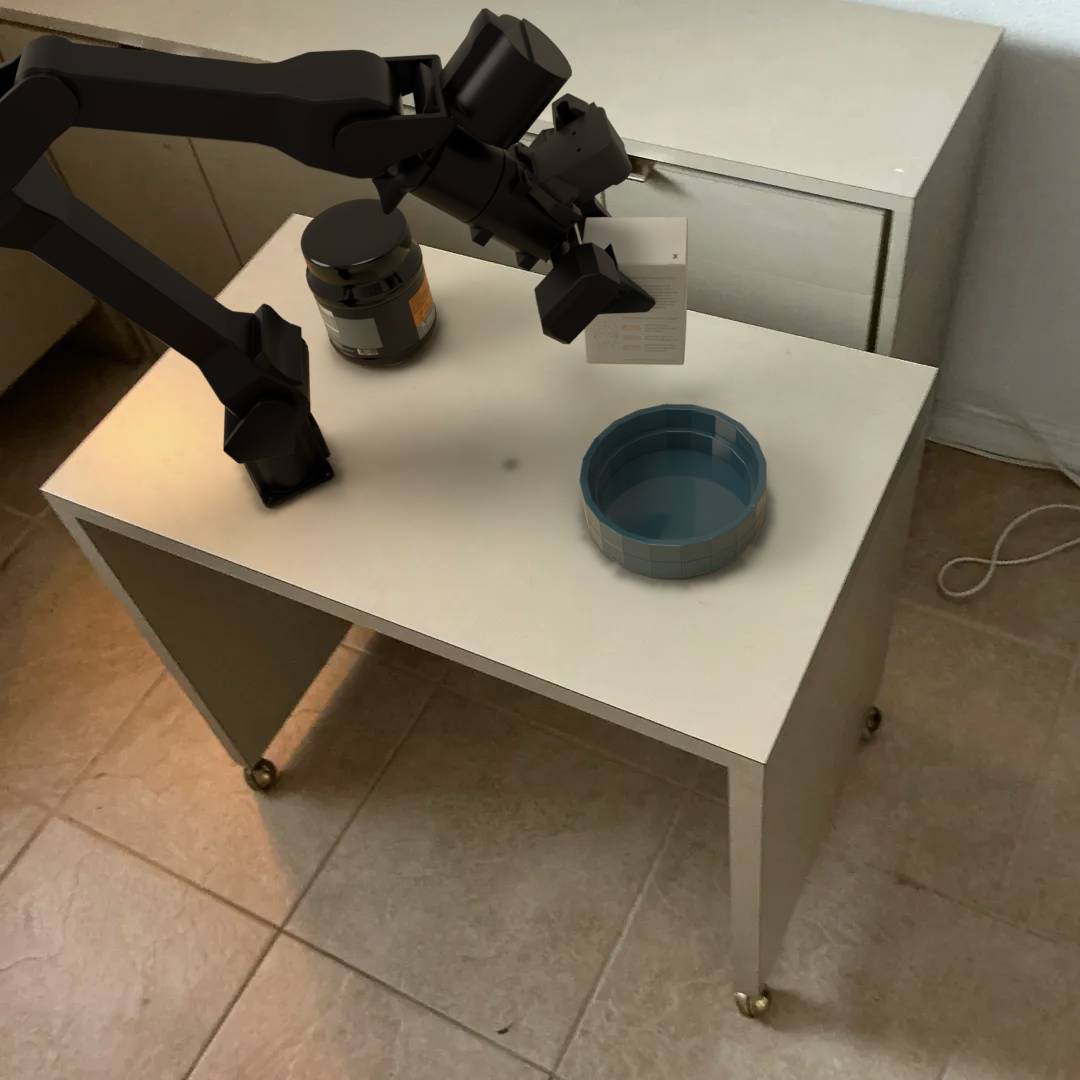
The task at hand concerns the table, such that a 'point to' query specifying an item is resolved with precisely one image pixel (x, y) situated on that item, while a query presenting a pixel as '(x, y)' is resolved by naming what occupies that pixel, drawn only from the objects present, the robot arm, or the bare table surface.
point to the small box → (658, 268)
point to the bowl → (674, 490)
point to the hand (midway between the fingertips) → (642, 278)
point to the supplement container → (369, 283)
